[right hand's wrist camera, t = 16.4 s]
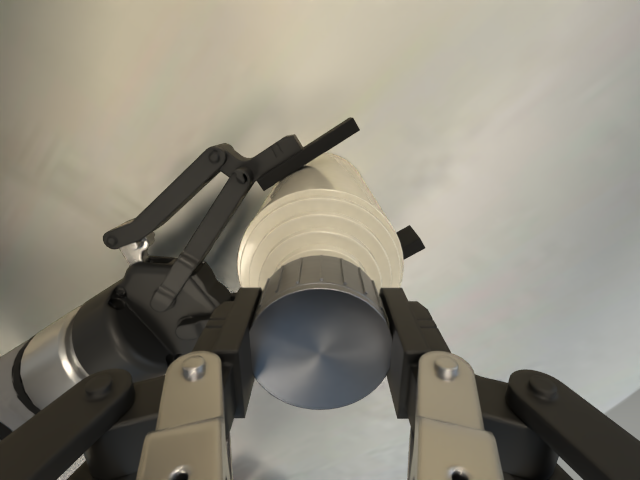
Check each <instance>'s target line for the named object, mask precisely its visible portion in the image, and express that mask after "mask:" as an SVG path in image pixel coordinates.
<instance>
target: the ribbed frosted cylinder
mask: <svg viewBox="0 0 640 480" xmlns="http://www.w3.org/2000/svg"><path fill="white" fill-rule="evenodd" d="M315 255H324V256H333V257H337V258H343V259H344V260H346V261H348V262H351V263H353V264H354V265H356V266H357V267H360V268H361V270H363V271H364V272H365V273H366V274H367V275H368V276H369V277H370V279H371V280H374V282H375V285H376V288H377V290H378V293H379V292H380V288H400V285H401V282H402V277H403V270H404V259H403V251H402V247H401V244H400V241H399V238H398V236H397V234H396V232H395V230H394V228H393V227H392V225H391V223H390V222H389V220H388V219H387V217H386V215H385V214H384V212H383V211H382V209H381V207H380V206H379V204H378V203H377V201H376V199H375V198H374V196H373V195H372V193H371V191H370V190H369V188H368V187H367V185H366V183H365V182H364V180H363V179H362V177H361V175H360V174H359V172H358V171H357V170H356V168H355V167H354V166H353V165H352V164H351V163H349V162H348V161H347V160H345V159H343V158H341V157H340V156H337V155H334V154H330V153H323V154H321V155H320V156H318V157H317V158H315V159H314V160H312V161H310V162H309V163H307V164H306V165H304V166H303V167H301V168H299V169H298V170H296V171H295V172H293V173H292V174H290V175H288V176H287V177H285V178H284V179H282V180H281V181H279V182H277V183H276V184H275V186H274V187H273V189H272V191H271V192H270V194H269V195H268V197H267V198H266V200H265V201H264V203H263V205H262V206H261V208H260V209H259V211H258V212H257V214H256V215H255V217H254V219H253V220H252V222H251V223H250V225H249V226H248V228H247V229H246V231H245V233H244V236H243V238H242V240H241V243H240V247H239V251H238V258H237V271H238V278H239V282H240V285H241V287H261V289H262V290H263V288H264V286H265V284H266V281H267V279H268V278H270V277H271V276H272V275H273V274H274V273H275V272H276V271H277V270H278V269H280V268H281V266H282V265H283V266H284V265H286V264H287V263H289V262H291V261H294V260H296V259H299V258H300V257H307V256H315Z"/></svg>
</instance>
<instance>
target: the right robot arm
mask: <svg viewBox="0 0 640 480" xmlns="http://www.w3.org/2000/svg"><path fill="white" fill-rule="evenodd" d="M261 293H262V289H261V287H241V288H240V289H239V291H238V293H237V295H236V297H235V299H234V301H224V302H223V303H222V304H220V305H219V306H218V307H216V308H215V309H214V311H213V313H212V315H211V316H210V319H209V320H208V322H207V324H206V326H205V328H204V330H203V331H202V333H201V335H200V337H199V339H198V341H197V343H196V344H195V346H194V348H193V350H192V352H191V353H188V354H185V355H183V356H181V357H179V358H177V359H176V360H175V361H174V362H172V363H171V364H170V366H169V367H168V369H167V371H166V375H163V376H160V377H157V378H152V379H148V380H144V381H139V382H135V383H133V380H132V377H131V374H130V373H129V372H128V371H126V370H123V369H107V370H103V371H99V372H96V373H94V374H92V375H89V376H88V377H86V378H84V379H82V380H81V381H79V382H78V383H77V384H75V385H74V386H73V387H71V388H70V389H69V390H67V391H66V392H65V393H63V394H62V395H61V396H60V397H58V398H57V399H56V400H54V401H53V402H52V403H50V404H49V405H48V406H46V407H45V408H44V409H42V410H41V411H40V412H38V413H37V414H36V415H34V416H33V417H32V418H30V419H29V420H28V421H26V422H25V423H24V424H22V425H21V426H20V427H18V428H17V429H16V430H14V431H13V432H12V433H11V434H9V435H8V436H7V437H5V438H4V439H3V440H1V441H0V480H57V479H58V478H59V477H60V476H61V475H62V474H63V473H64V472H65V471H66V470H67V469H68V468H69V467H70V466H71V465H72V464H73V463H74V462H75V461H76V460H77V459H78V458H79V457H80V456H81V455H82V454H83V453H84V456H85V459H86V461H85V462H84V463H83V464H82V465H81V466H80V467H79V468H78V469H77V470H76V471H75V472H74V473H73V474H72V475H71V476H70V477H69V478H68V479H67V480H233V474H232V455H231V438H230V430H231V426H232V423H233V419H234V418H245V415H246V411H247V407H248V403H249V399H250V395H251V391H252V387H253V383H254V379H255V377H254V375H253V372H252V361H251V349H250V337H249V330H250V327H251V324H252V320H253V317H254V314H255V311H256V308H257V305H258V302H259V299H260V296H261ZM379 297H381V300H382V303H383V306H384V309H385V312H386V315H387V318H388V321H389V324H390V331H391V334H392V349H391V360H390V369H389V371H388V373H387V379H388V383H389V387H390V391H391V395H392V399H393V403H394V407H395V411H396V415H397V419H409V422H410V425H411V430H410V438H409V455H408V474H407V480H573V479H572V478H571V477H570V476H569V475H568V474H567V473H566V472H565V471H564V470H563V469H562V468H561V467H560V466H559V465H558V464H557V460H558V457H559V456H560V457H561V458H562V459H563V460H564V461H565V462H566V463H567V464H568V465H569V466H570V467H571V468H572V469H573V470H574V471H575V472H576V473H577V474H578V475H579V476H580V477H581V478H582V479H583V480H640V441H639V440H637V439H636V438H635V437H633V436H632V435H631V434H630V433H628V432H627V431H626V430H624V429H623V428H622V427H620V426H619V425H618V424H616V423H615V422H614V421H612V420H611V419H610V418H608V417H607V416H606V415H604V414H603V413H602V412H600V411H599V410H598V409H596V408H595V407H594V406H592V405H591V404H590V403H588V402H587V401H586V400H584V399H583V398H582V397H580V396H579V395H578V394H577V393H575V392H574V391H573V390H571V389H570V388H569V387H567V386H566V385H565V384H563V383H562V382H560V381H559V380H557V379H556V378H554V377H552V376H550V375H548V374H545V373H542V372H539V371H534V370H518V371H515V372H514V373H512V374H511V376H510V378H509V382H508V383H506V382H501V381H497V380H493V379H488V378H484V377H481V376H478V375H476V374H474V371H473V369H472V367H471V366H470V364H469V363H468V362H466V361H465V360H464V359H463V358H461V357H459V356H457V355H455V354H452V353H451V352H450V350H449V348H448V346H447V344H446V342H445V341H444V339H443V337H442V335H441V333H440V331H439V330H438V328H437V326H436V324H435V322H434V320H432V317H431V315H430V313H429V311H428V309H426V308H425V307H424V306H422V305H421V304H420V303H419V302H417V301H408V300H407V298H406V295H405V293H404V291H403V289H402V288H380V292H379Z"/></svg>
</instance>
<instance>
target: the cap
mask: <svg viewBox="0 0 640 480" xmlns="http://www.w3.org/2000/svg"><path fill="white" fill-rule="evenodd" d="M249 337H250V349H251V361H252V372H253V375H254V377H255V378H256V380H257V381H258V383H259V384H260V385H261V386H262V387H263V388H264V389H265V390H266V391H268V392H269V393H270V394H271V395H273V396H274V397H276V398H277V399H279V400H281V401H283V402H285V403H288V404H290V405H293V406H297V407H301V408H306V409H316V410H324V409H334V408H339V407H343V406H347V405H349V404H352V403H355V402H357V401H359V400H361V399H363V398H364V397H366V396H367V395H369V394H370V393H371V392H372V391H373V390H375V389H376V388H377V387H378V386H379V384H380V383H381V382H382V381H383V379H384V378H385V377H386V375H387V373H388V371H389V369H390V360H391V349H392V334H391V331H390V324H389V321H388V318H387V315H386V312H385V309H384V306H383V303H382V300H381V297H379V293H378V290H377V288H376V285H375V282H374V280H371V279H370V277H369V276H368V275H367V274H366V273H365V272H364V271H363V270H361V268H360V267H357V266H356V265H354V264H353V263H351V262H348V261H346V260H344V259H343V258H337V257H333V256H324V255H315V256H307V257H300V258H299V259H296V260H294V261H291V262H289V263H287V264H286V265H284V266H283V265H282V266H281V268H280V269H278V270H277V271H276V272H275V273H274V274H273V275H272V276H271V277H270V278H268V279H267V281H266V284H265V286H264V288H263V290H262V293H261V296H260V299H259V302H258V305H257V308H256V311H255V314H254V317H253V320H252V324H251V327H250V330H249Z"/></svg>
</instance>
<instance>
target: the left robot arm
mask: <svg viewBox="0 0 640 480" xmlns="http://www.w3.org/2000/svg"><path fill="white" fill-rule="evenodd" d="M359 130H360V129H359V128H358V126H357V124H356V122H355V120H354V119H353V118H348V119H347V120H345V121H343V122H342V123H340V124H339V125H337V126H336V127H334V128H333V129H331V130H330V131H328V132H327V133H325V134H323V135H322V136H320V137H319V138H317V139H316V140H314V141H313V142H311V143H310V144H308V145H306V146H305V147H303V146H302V145H301V143H300V142H299V140H298V138H297V137H296V135H295V134H294V135H289V136H285V137H284V138H282V139H281V140H279V141H278V142H276V143H275V144H273V145H272V146H270V147H269V148H267V149H266V150H264V151H263V152H261V153H260V154H258V155H257V156H255V157H253V158H245V157H243V156H241V155H240V154H239V153H237V152H236V151H235V150H234V149H233V147H232V146H231V145H229V144H226V143H224V144H219V145H216V146H212V147H210V148H208V149H207V150H206V151H205V152H203V153H202V154H201V155H200V156H199V157H198V158H197V159H196V160H195V161H194V162H193V163H192V164H191V165H190V166H189V167H188V168H187V169H186V170H185V171H184V172H183V173H182V174H181V175H180V176H179V177H178V178H177V179H176V180H175V181H174V182H173V183H171V184H170V185H169V186H168V187H167V188H166V189H165V190H164V191H163V192H162V193H161V194H160V195H159V196H158V197H157V198H156V199H155V200H154V201H153V202H152V203H151V204H150V205H149V206H148V207H147V208H146V209H145V210H144V211H143V212H142V213H141V214H139V215H138V216H137V217H136V218H134V219H131V220H129V221H127V222H125V223H123V224H121V225H119V226H117V227H116V228H114V229H112V230H110V231H108V232H107V233H105V234H104V236H103V241H104V244H105V245H106V246H107V247H109V248H111V249H118V248H119V249H120V251H121V252H122V254H123V255H124V257H125V259H126V260H127V262H128V264H129V265H130V267H129V268H128V269H127V271H126V274H125V276H124V278H123V279H121V280H120V281H118V282H116V283H115V284H113V285H112V286H110V287H109V288H107V289H105V290H104V291H102V292H101V293H99V294H98V295H96V296H95V297H93V298H91V299H90V300H88V301H87V302H86V303H84V304H83V305H82V306H79V307H77V308H76V309H74V310H73V311H71V312H69V313H68V314H66V315H65V316H63V317H62V318H60V319H59V320H57V321H55V322H54V323H52V324H51V325H49V326H48V327H46V328H44V329H43V330H41V331H40V332H38V333H37V334H36V335H35V336H33V337H32V338H31V339H29V340H28V341H26V342H24V343H23V344H21V345H19V346H18V347H16V348H14V349H13V350H11V351H9V352H8V353H6V354H4V355H3V356H1V357H0V441H1V440H3V439H4V438H5V437H7V436H8V435H9V434H11V433H12V432H13V431H14V430H16V429H17V428H18V427H20V426H21V425H22V424H24V423H25V422H26V421H28V420H29V419H30V418H32V417H33V416H34V415H36V414H37V413H38V412H40V411H41V410H42V409H44V408H45V407H46V406H48V405H49V404H50V403H52V402H53V401H54V400H56V399H57V398H58V397H60V396H61V395H62V394H63V393H65V392H66V391H67V390H69V389H70V388H71V387H73V386H74V385H75V384H77V383H78V382H79V381H81V380H82V379H84V378H86V377H88V376H89V375H92V374H94V373H96V372H99V371H103V370H107V369H123V370H126V371H128V372H129V373H130V374H131V377H132V380H133V383H135V382H139V381H144V380H148V379H152V378H157V377H160V376H163V375H165V374H166V371H167V369H168V367H169V366H170V364H171V363H172V362H174V361H175V360H176V359H177V358H179V357H181V356H183V355H185V354H188V353H191V352H192V350H193V348H194V346H195V344H196V343H197V341H198V339H199V337H200V335H201V333H202V331H203V330H204V328H205V326H206V324H207V322H208V320H209V319H210V316H211V315H212V313H213V311H214V309H215V308H216V307H218V306H219V305H220V304H222V303H223V302H224V301H234V299H235V297H236V295H237V293H238V292H237V293H230V292H229V291H228V289H227V288H226V287H225V286H224V285H222V284H221V283H220V282H219V281H217V280H216V278H215V275H214V273H213V271H212V269H211V268H210V267H209V266H208V264H207V263H206V262H205V263H202V262H203V260H204V259H205V257H206V256H207V254H208V253H209V251H210V250H211V248H212V246H213V244H214V243H215V241H216V240H217V238H218V237H219V235H220V234H221V232H222V231H223V229H224V228H225V226H226V225H227V223H228V222H229V220H230V219H231V217H232V216H233V214H234V213H235V211H236V210H237V208H238V207H239V205H240V204H241V202H242V201H243V199H244V197H245V196H246V194H247V193H248V191H249V190H250V188H251V187H252V185H253V184H254V182H255V181H257V182H258V183H259V185H260V186H261V188H262V189H263V191H265V190H266V189H268V188H270V187H271V186H273V185H274V184H276V183H277V182H279V181H281V180H282V179H284V178H285V177H287V176H288V175H290V174H292V173H293V172H295V171H296V170H298V169H299V168H301V167H303V166H304V165H306V164H307V163H309V162H310V161H312V160H314V159H315V158H317V157H318V156H320V155H321V154H323V153H325V152H326V151H328V150H329V149H331V148H332V147H334V146H336V145H337V144H339V143H340V142H342V141H343V140H345V139H347V138H348V137H350V136H351V135H353V134H354V133H356V132H358V131H359ZM220 171H221V172H223V173H224V174H225V175H227V176H228V177H229V179H228V181H227V183H226V184H225V186H224V187H223V189H222V190H221V192H220V194H219V195H218V197H217V198H216V200H215V202H214V203H213V205H212V206H211V208H210V209H209V211H208V213H207V214H206V216H205V217H204V219H203V221H202V222H201V224H200V225H199V227H198V228H197V230H196V232H195V233H194V235H193V236H192V238H191V239H190V241H189V243H188V244H187V246H186V247H185V249H184V250H183V252H182V253H181V254H180V256H179V257H178V258H175V257H160V256H149V255H148V248H149V246H151V245H152V244H153V243H154V240H155V238H154V237H155V233H154V232H153V231H155V230H156V229H157V228H159V227H160V226H162V225H163V224H164V223H166V222H167V221H168V220H169V219H170V218H171V217H172V216H173V215H174V214H176V213H177V212H178V211H179V210H180V209H181V208H182V207H183V206H184V205H185V204H186V203H187V202H188V201H189V200H190V199H192V198H193V197H194V196H195V195H196V194H197V193H198V192H199V191H200V190H201V189H202V188H203V187H204V186H205V185H207V184H208V183H209V182H210V181H211V180H212V179H213V178H214V177H215V176H216V175H217V174H218V173H219V172H220ZM396 234H397V236H398V238H399V241H400V244H401V247H402V251H403V259H406V258H408V257H410V256H412V255H413V254H415V253H417V252H419V251H421V250H423V249H425V246H424V245H423V243H422V241H421V239H420V238H419V236H418V235H417V234H416V233H415V231H414V230H413V229H412V227H411V226H410V225H409V226H407V227H406V228H404V229H402V230H400V231H398V232H397V233H396Z"/></svg>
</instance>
